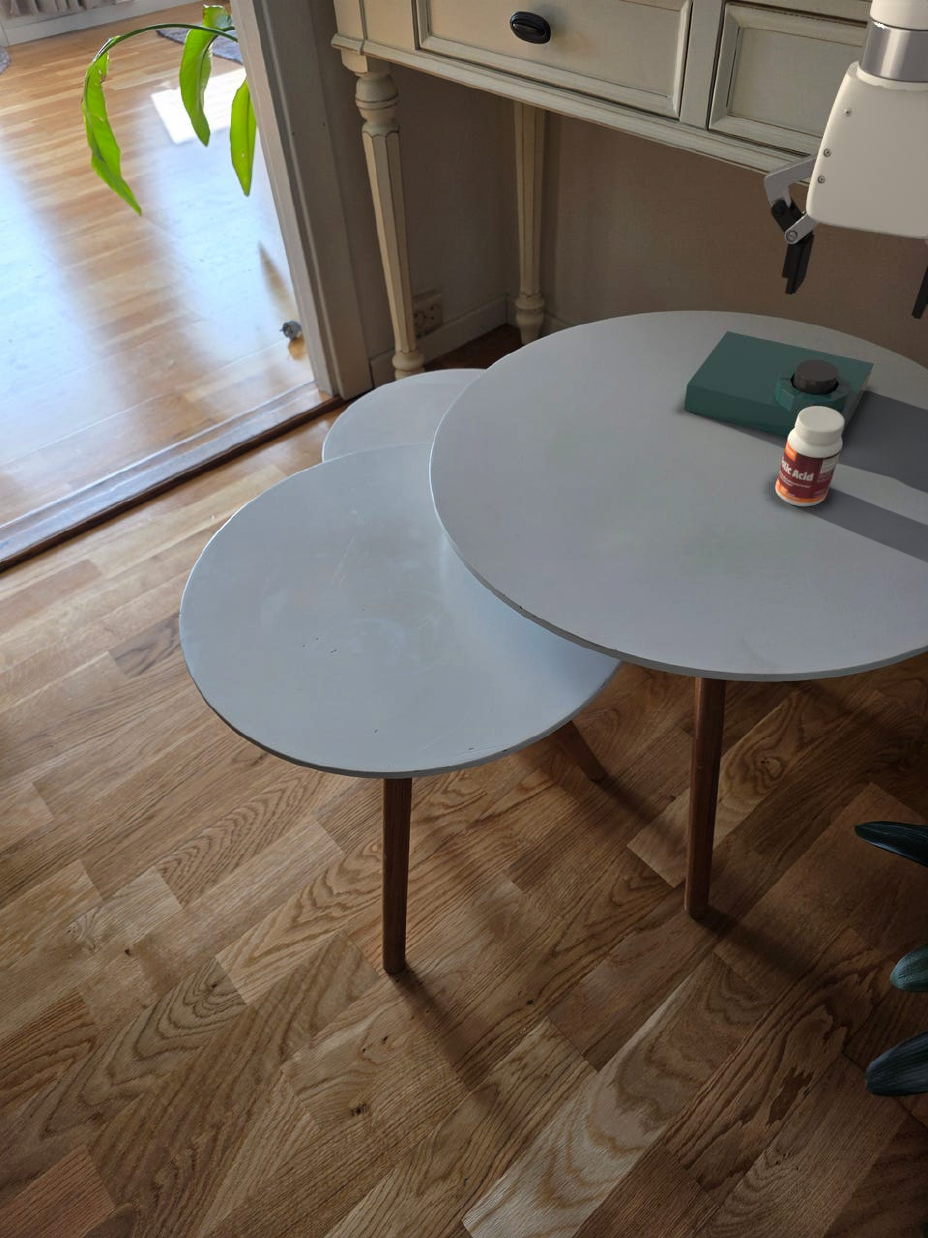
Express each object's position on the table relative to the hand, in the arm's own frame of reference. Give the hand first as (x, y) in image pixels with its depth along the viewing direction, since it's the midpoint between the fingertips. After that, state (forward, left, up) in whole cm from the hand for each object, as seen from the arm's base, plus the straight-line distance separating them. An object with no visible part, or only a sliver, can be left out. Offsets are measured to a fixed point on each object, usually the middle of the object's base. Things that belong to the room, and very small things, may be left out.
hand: (855, 298), depth 69 cm
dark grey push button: (+3, -11, -15) cm, 19 cm away
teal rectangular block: (+7, -14, -20) cm, 25 cm away
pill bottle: (0, 0, -20) cm, 20 cm away
